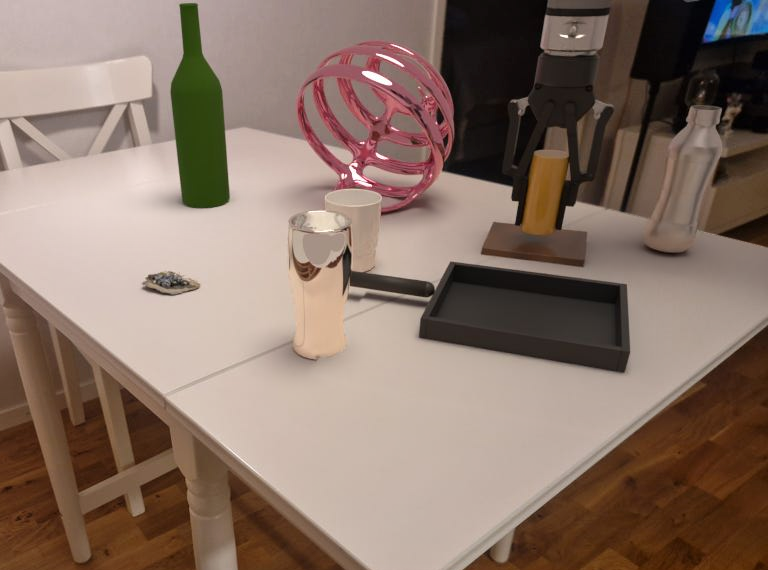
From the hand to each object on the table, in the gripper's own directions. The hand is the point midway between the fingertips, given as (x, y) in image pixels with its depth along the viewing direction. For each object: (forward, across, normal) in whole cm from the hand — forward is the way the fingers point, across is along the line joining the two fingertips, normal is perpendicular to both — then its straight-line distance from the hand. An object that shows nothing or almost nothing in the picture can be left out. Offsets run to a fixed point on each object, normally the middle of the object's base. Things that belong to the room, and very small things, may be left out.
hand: (538, 224), depth 97 cm
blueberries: (+4, -45, -30) cm, 54 cm away
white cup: (+4, -24, -15) cm, 29 cm away
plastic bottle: (+4, +18, +6) cm, 19 cm away
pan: (+4, +1, -25) cm, 25 cm away
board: (+4, 0, 0) cm, 4 cm away
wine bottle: (+4, -59, +5) cm, 59 cm away
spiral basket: (+4, -29, +15) cm, 33 cm away
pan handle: (+2, -16, -25) cm, 30 cm away
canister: (+1, 0, 0) cm, 1 cm away
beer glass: (+4, -20, -39) cm, 44 cm away
